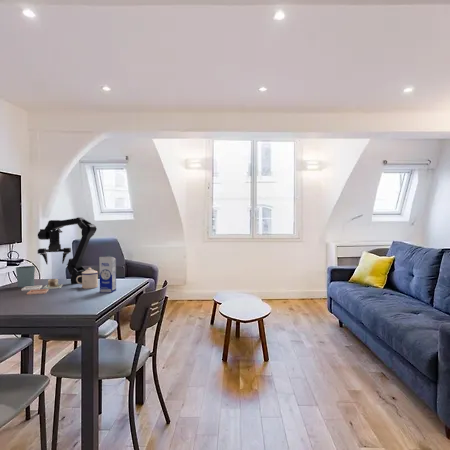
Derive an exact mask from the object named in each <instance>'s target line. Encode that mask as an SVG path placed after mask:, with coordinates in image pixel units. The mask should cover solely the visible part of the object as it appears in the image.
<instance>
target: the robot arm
mask: <svg viewBox="0 0 450 450" xmlns="http://www.w3.org/2000/svg"><path fill="white" fill-rule="evenodd" d="M75 225H78V227H79V229H81V231H80V232H81V238H80V241H79V243H78V246H77V249H76V251H75V253H74V256H73V258H69V259H68V262H67V264H66V266H67V267H66V268H67V270H68V273H69V275H70V284H71V285H80V284H79V283H77V281H76V278H77V277H78V276H82V272H84V271H86V268H84V266H83V258H84V257H83V256H84V255H85V252H86V250H87V246H88V245H89V242H90V240H91V238H92V237H93V236H94V235H95V233H96V232H97V230H98V229H97V226H96V225H95V224H93V223H91V222H90V221H88V220H86V219H85V218H84V217H79V216H77V217H75V218H74V217H73V218H69V219H63V220H60V219H53V220H49V221H47V224H46V226H45V227H44V228H41V229H39V232H38V233H37V239H39V240H40V241H41V240H43V241H45V240H48V241H49V244H48V247H45V248H38V249H37V254H39V255H40V256H42V258H43V259H44V261H45V263H46V265H48V264H49V263H48V253H58V252H59V253H62V252H63V253H62V261H61V262H62V265H63V264H64V263H65V259H66V257H67V255H68V254H69V253H72V248H71V247H64V248H62V246H61V241H60V233H61V234H62V233H63V230H61V228H64V227H67V226H75ZM77 280H78V282H80V283H82V277H78V279H77Z"/></svg>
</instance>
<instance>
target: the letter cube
mask: <svg viewBox="0 0 450 450" xmlns="http://www.w3.org/2000/svg"><path fill="white" fill-rule="evenodd" d="M58 284H59V279H58V278H51V279H48V280H47V285H48V287H58Z"/></svg>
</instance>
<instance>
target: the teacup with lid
mask: <svg viewBox="0 0 450 450" xmlns="http://www.w3.org/2000/svg"><path fill="white" fill-rule="evenodd" d="M98 273H99V272H98V271H97V270H94V268H93V269H92V267H88V268H87V269H85V271H84V272H82V276H78V277H82V283H80V282H78V280H77V279H78V277H77V278H76V281H77V283H79V284H78V285H81V287H82V289H85V290H86V289H87V290H91V289H96V288H97V287H98V285H99V282H98V280H99V279H98V278H99V276H98Z"/></svg>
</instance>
